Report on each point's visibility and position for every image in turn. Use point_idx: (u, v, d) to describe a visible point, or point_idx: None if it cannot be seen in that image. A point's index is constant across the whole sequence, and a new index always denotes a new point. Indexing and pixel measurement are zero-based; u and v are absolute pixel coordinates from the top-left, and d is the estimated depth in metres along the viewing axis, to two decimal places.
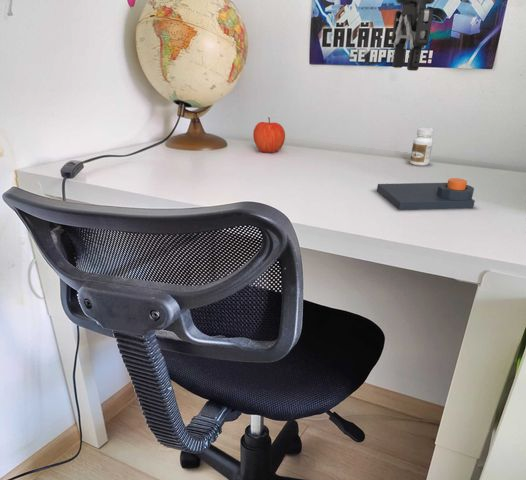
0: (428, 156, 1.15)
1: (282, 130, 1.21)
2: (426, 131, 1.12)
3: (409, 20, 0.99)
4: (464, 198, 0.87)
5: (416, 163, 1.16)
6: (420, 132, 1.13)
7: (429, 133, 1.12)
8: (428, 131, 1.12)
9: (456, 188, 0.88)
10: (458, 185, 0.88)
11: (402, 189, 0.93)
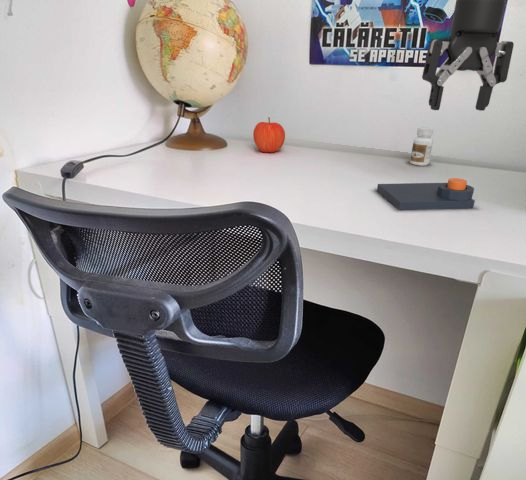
0: (428, 156, 1.15)
1: (282, 130, 1.21)
2: (426, 131, 1.12)
3: None
4: (464, 198, 0.87)
5: (416, 163, 1.16)
6: (420, 132, 1.13)
7: (429, 133, 1.12)
8: (428, 131, 1.12)
9: (456, 188, 0.88)
10: (458, 185, 0.88)
11: (402, 189, 0.93)
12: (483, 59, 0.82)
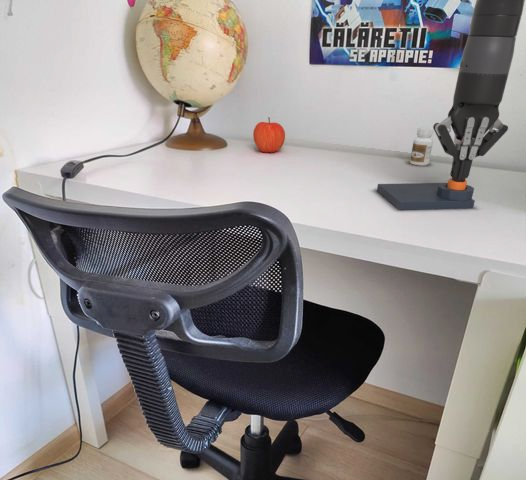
0: (428, 156, 1.15)
1: (282, 130, 1.21)
2: (426, 131, 1.12)
3: None
4: (464, 198, 0.87)
5: (416, 163, 1.16)
6: (420, 132, 1.13)
7: (429, 133, 1.12)
8: (428, 131, 1.12)
9: (456, 188, 0.88)
10: (458, 185, 0.88)
11: (402, 189, 0.93)
12: (480, 128, 0.82)
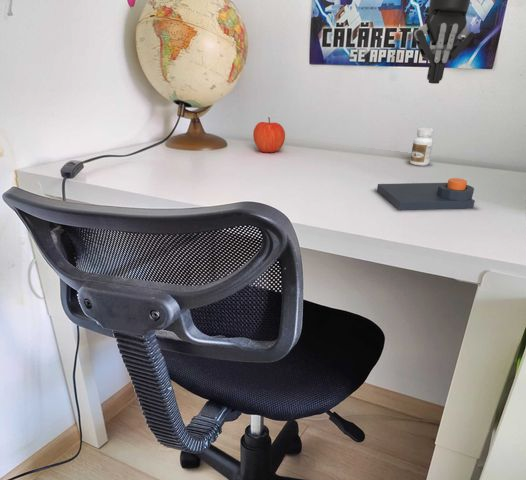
0: (428, 156, 1.15)
1: (282, 130, 1.21)
2: (426, 131, 1.12)
3: None
4: (464, 198, 0.87)
5: (416, 163, 1.16)
6: (420, 132, 1.13)
7: (429, 133, 1.12)
8: (428, 131, 1.12)
9: (456, 188, 0.88)
10: (458, 185, 0.88)
11: (402, 189, 0.93)
12: (451, 34, 0.99)
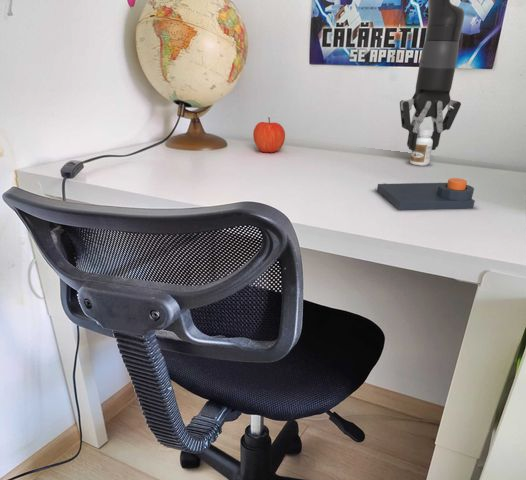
0: (428, 156, 1.15)
1: (282, 130, 1.21)
2: (426, 131, 1.12)
3: None
4: (464, 198, 0.87)
5: (416, 163, 1.16)
6: (420, 132, 1.13)
7: (429, 133, 1.12)
8: (428, 131, 1.12)
9: (456, 188, 0.88)
10: (458, 185, 0.88)
11: (402, 189, 0.93)
12: (438, 110, 1.10)
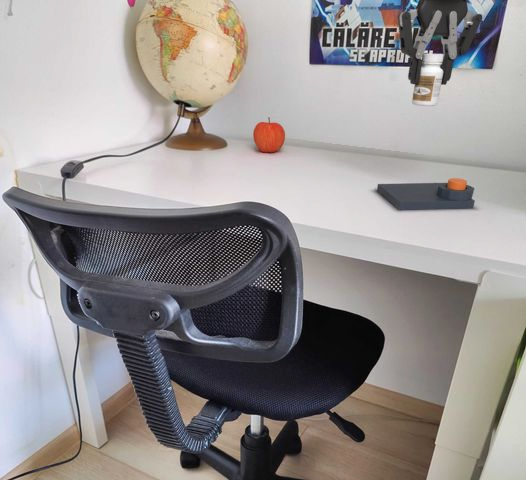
0: (437, 93, 0.85)
1: (282, 130, 1.21)
2: (434, 56, 0.82)
3: None
4: (464, 198, 0.87)
5: (420, 103, 0.86)
6: (425, 58, 0.83)
7: (438, 59, 0.82)
8: (437, 56, 0.82)
9: (456, 188, 0.88)
10: (458, 185, 0.88)
11: (402, 189, 0.93)
12: (450, 25, 0.80)
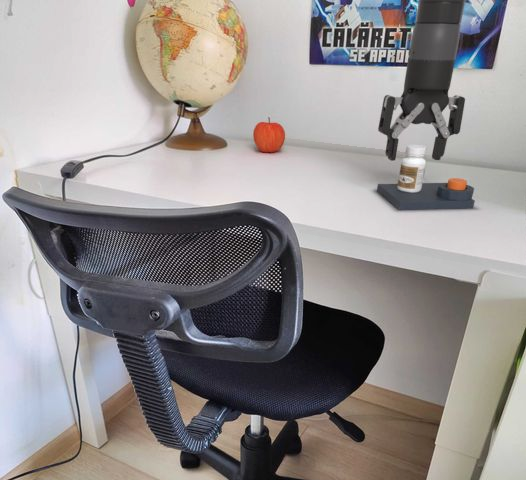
0: (420, 181, 0.90)
1: (282, 130, 1.21)
2: (417, 150, 0.87)
3: None
4: (464, 198, 0.87)
5: (405, 190, 0.91)
6: (409, 150, 0.88)
7: (421, 152, 0.88)
8: (420, 150, 0.87)
9: (456, 188, 0.88)
10: (458, 185, 0.88)
11: None
12: (435, 114, 0.85)
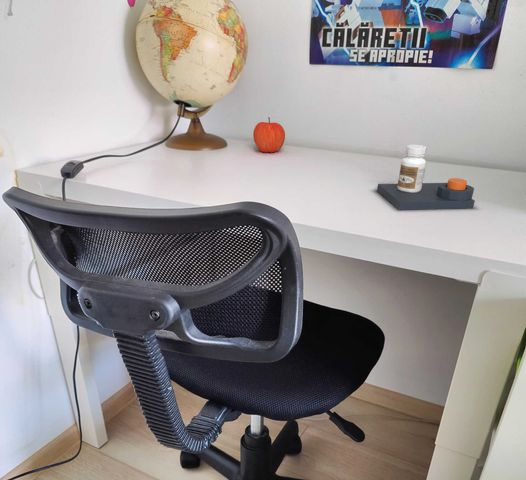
0: (420, 181, 0.90)
1: (282, 130, 1.21)
2: (417, 150, 0.87)
3: None
4: (464, 198, 0.87)
5: (405, 190, 0.91)
6: (409, 150, 0.88)
7: (421, 152, 0.88)
8: (420, 150, 0.87)
9: (456, 188, 0.88)
10: (458, 185, 0.88)
11: None
12: None
